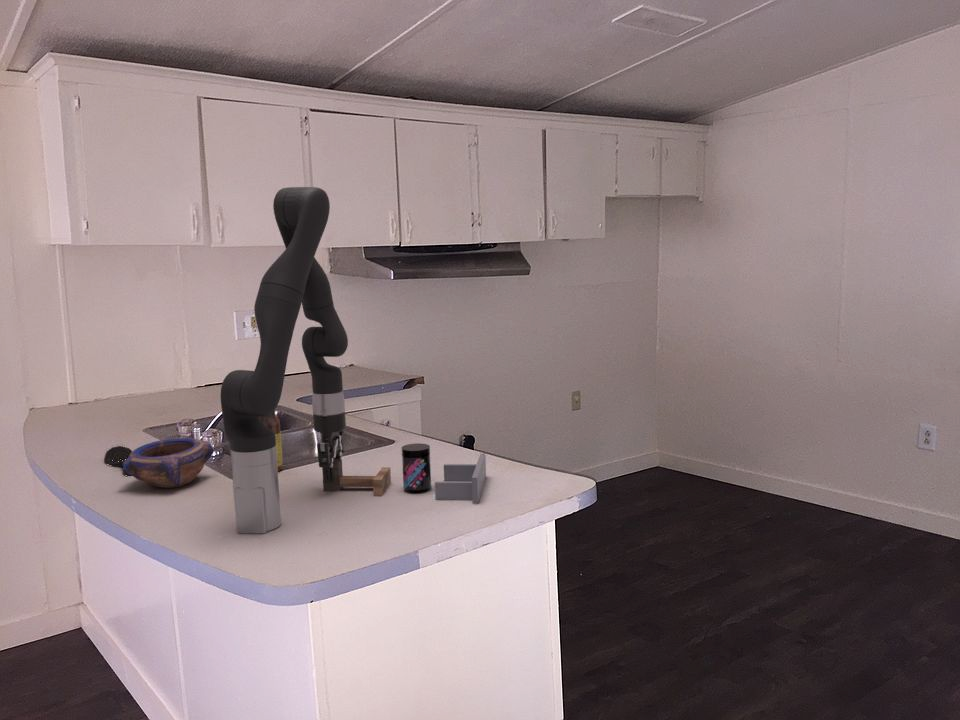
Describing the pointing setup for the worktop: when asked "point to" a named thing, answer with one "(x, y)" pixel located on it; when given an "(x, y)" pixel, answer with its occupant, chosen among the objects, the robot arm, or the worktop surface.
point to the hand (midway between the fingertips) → (333, 477)
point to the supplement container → (416, 468)
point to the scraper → (358, 480)
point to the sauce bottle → (274, 425)
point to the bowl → (169, 461)
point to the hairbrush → (117, 456)
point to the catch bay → (462, 473)
